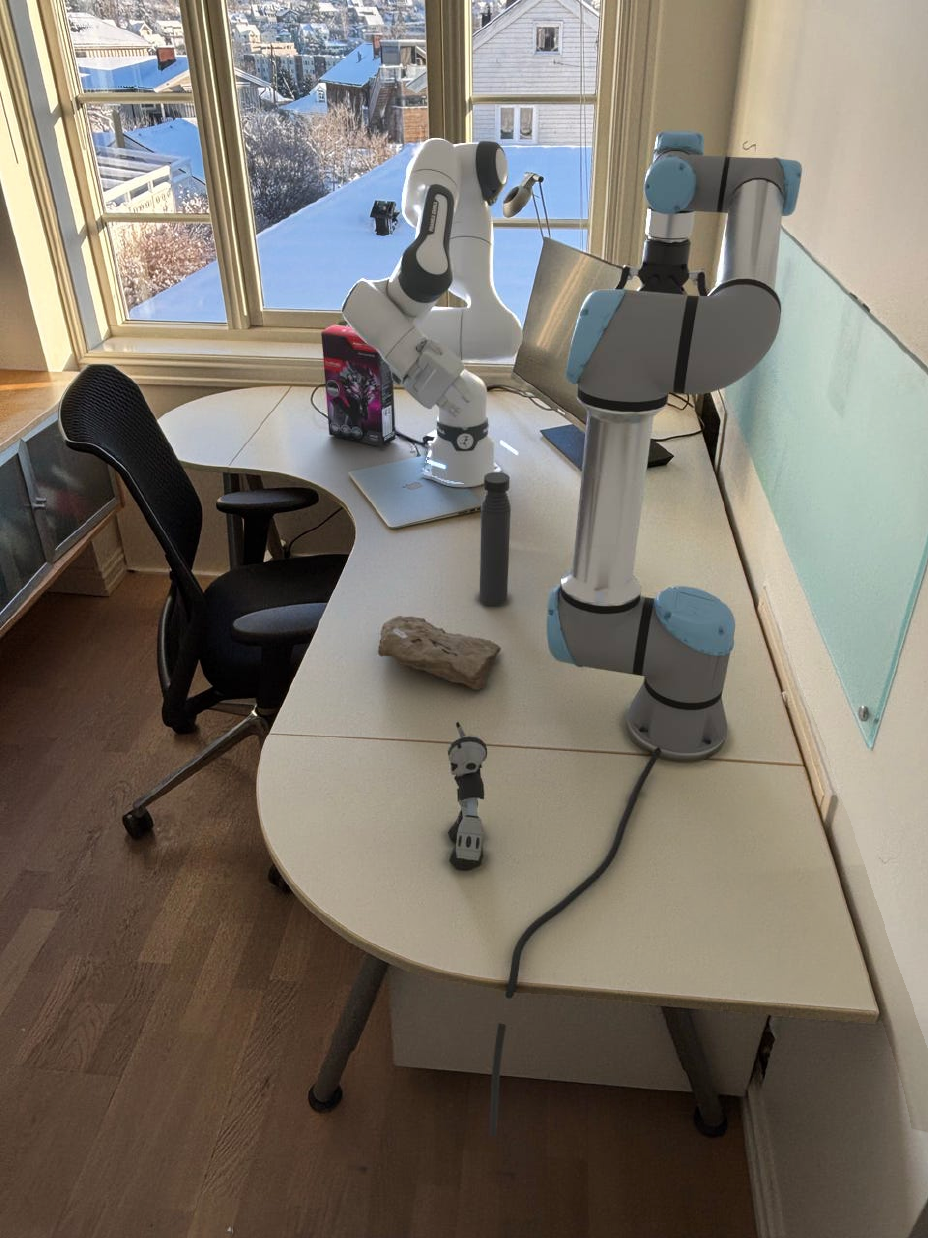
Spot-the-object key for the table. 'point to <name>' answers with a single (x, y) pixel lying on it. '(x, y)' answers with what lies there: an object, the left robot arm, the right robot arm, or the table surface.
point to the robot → (467, 799)
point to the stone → (438, 651)
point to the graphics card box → (357, 388)
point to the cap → (496, 482)
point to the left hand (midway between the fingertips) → (464, 407)
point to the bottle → (494, 549)
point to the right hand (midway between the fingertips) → (652, 364)
